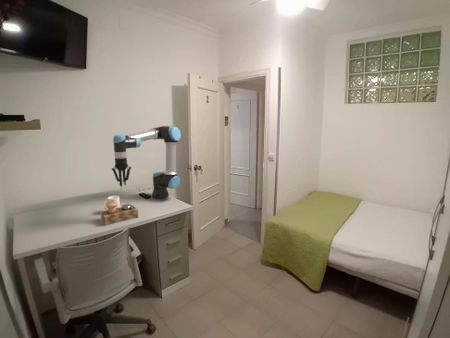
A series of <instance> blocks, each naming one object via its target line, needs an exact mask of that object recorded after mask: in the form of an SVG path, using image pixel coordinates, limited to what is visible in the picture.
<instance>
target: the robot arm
mask: <svg viewBox="0 0 450 338" xmlns="http://www.w3.org/2000/svg"><path fill="white" fill-rule="evenodd" d="M181 133H182V132H181V130H180V129H179V128H178V127H177V126H167V125H166V126H165V125H164V126H163V125H162V126H157V127H154V128H150V130H146V131H140V132H136V133H135V132H134V133H132V134H130V133H129V134H127V135H125V134H124V135H123V134H117V135H114V136H113V139H112V142H113V150H114V163H115V165H114V167H112V168H111V170H112V173H113V175H114V177H115V180H116V182H119V186H120V187H121V191H122V192H124V191H126V189H125V186H127V181H129V179H130V172H131V170H132V166H130V165H128V158H127V149H136V148H140V147H141V145H142V142H146V141H149V140H154V141H155V140H163V143H164V144H165V171H156V172H154V173H153V174H152V185H153V189H152V193H151V198H153V199H155V200H162V199H166V198H168V197H169V196H170V195H169V194H170V193H169V190H168V189H172V190H175V189H176V188H178V187H179V185H180V183H181V178H180V176H178V172H177V145H178V143H179V141H180V140H181V137H182V134H181ZM117 171H118V173H117Z"/></svg>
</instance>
